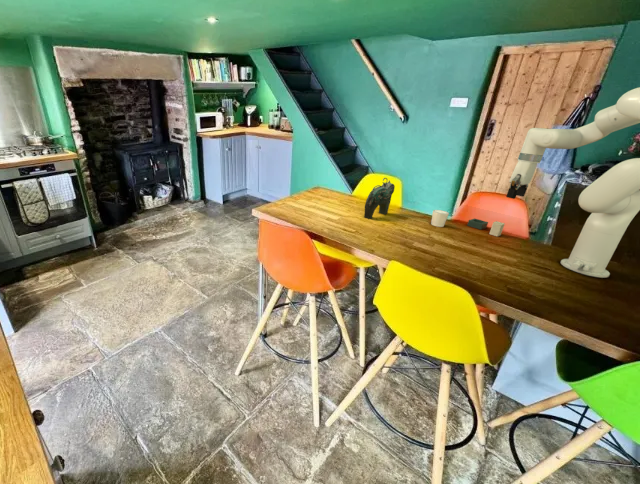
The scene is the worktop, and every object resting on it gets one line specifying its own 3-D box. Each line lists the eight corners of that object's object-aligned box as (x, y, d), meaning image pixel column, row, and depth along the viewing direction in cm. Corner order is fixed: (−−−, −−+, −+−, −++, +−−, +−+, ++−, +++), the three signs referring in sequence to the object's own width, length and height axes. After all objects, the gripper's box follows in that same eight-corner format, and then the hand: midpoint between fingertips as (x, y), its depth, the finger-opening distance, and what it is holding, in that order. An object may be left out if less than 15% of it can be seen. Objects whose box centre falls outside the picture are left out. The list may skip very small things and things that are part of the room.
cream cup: (445, 224, 151) (449, 211, 148) (445, 228, 145) (449, 214, 143) (430, 221, 154) (433, 208, 152) (429, 225, 149) (432, 211, 146)
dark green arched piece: (381, 211, 167) (388, 175, 160) (392, 214, 162) (400, 177, 155) (360, 216, 155) (367, 178, 148) (371, 220, 151) (379, 181, 144)
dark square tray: (480, 229, 147) (482, 224, 146) (467, 225, 152) (468, 220, 150) (486, 227, 150) (488, 222, 149) (472, 223, 155) (474, 218, 154)
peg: (497, 236, 139) (501, 224, 137) (489, 234, 141) (493, 222, 139) (500, 235, 141) (504, 223, 138) (492, 232, 143) (496, 221, 141)
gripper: (526, 156, 135) (513, 193, 142) (510, 157, 127) (496, 196, 133) (548, 159, 130) (532, 197, 136) (533, 160, 121) (517, 201, 127)
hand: (515, 196), depth 134 cm, fingers open, 9 cm apart
